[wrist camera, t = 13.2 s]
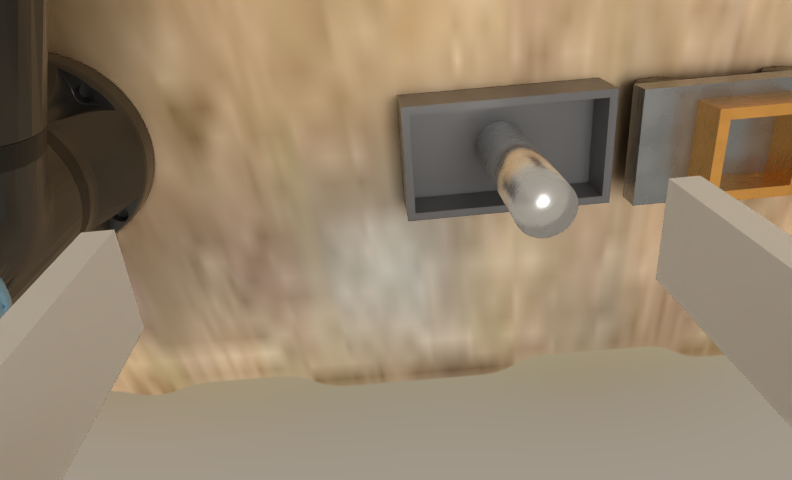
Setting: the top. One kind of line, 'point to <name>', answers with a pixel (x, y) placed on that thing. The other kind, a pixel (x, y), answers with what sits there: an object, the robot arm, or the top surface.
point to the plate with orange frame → (711, 134)
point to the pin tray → (521, 105)
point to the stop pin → (526, 181)
